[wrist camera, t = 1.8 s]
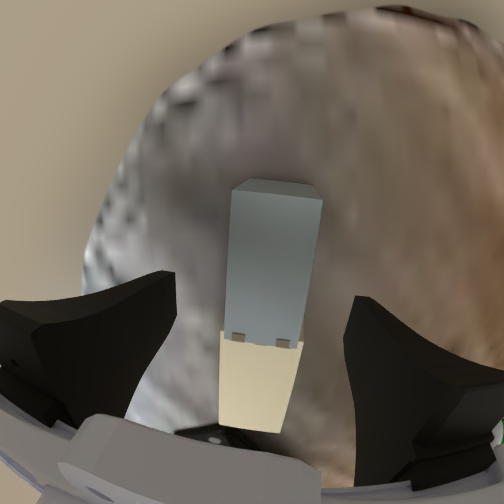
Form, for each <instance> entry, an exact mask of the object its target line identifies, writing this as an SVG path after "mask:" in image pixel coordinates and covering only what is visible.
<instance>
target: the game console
mask: <svg viewBox="0 0 504 504" xmlns="http://www.w3.org/2000/svg"><path fill="white" fill-rule="evenodd" d="M174 435H178V436H181V437H185V438H189V439H194V440H198V441H202V442H207V443H212V444H217V445H222V446H227V447H233V448H239V449H246V450H253V451H260V449H259V448H258V447H257V445H256V444H254V443H253V442H252V441H251V440H250V439H249V438H248V437H246V436H245V435H244V434H243V433H242V432H241V431H240V430H239V429H238V428H236V427H230V426H225V425H217V426H211V427H206V428H200V429H194V430H187V431H181V432H177V433H175V434H174Z"/></svg>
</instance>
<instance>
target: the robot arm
mask: <svg viewBox="0 0 504 504" xmlns="http://www.w3.org/2000/svg"><path fill="white" fill-rule="evenodd" d="M176 316H177V305H176V282H175V272H169V271H163V270H161V271H157V272H153V273H150V274H147V275H145V276H142V277H139V278H137V279H134V280H132V281H129V282H126V283H124V284H121V285H118V286H115V287H112V288H109V289H106V290H103V291H100V292H96V293H92V294H88V295H84V296H79V297H73V298H66V299H60V300H50V301H12V300H5V301H2V302H0V365H1V367H0V460H1V461H2V462H3V463H4V464H5V465H7V466H8V467H9V468H10V469H11V470H12V471H13V472H15V473H16V474H17V475H18V476H19V477H21V478H22V479H23V480H24V481H26V482H27V483H28V484H29V485H31V486H32V487H33V488H35V489H36V490H37V491H39V492H40V493H41V494H42V495H41V497H40V498H39V500H38V502H37V503H36V504H504V443H503V444H501V441H502V438H503V423H502V420H501V419H502V418H503V417H504V370H500V369H496V368H492V367H488V366H484V365H480V364H478V363H475V362H472V361H469V360H466V359H464V358H461V357H459V356H457V355H455V354H453V353H450V352H448V351H446V350H444V349H442V348H440V347H439V346H437V345H435V344H433V343H432V342H430V341H428V340H427V339H425V338H423V337H422V336H420V335H419V334H417V333H416V332H415V331H413V330H412V329H411V328H409V327H408V326H406V325H405V324H404V323H403V322H401V321H400V320H399V319H397V318H396V317H395V316H394V315H393V314H391V313H390V312H389V311H388V310H386V309H385V308H384V307H383V306H381V305H380V304H379V303H378V302H376V301H375V300H374V299H372V298H370V297H365V296H355V298H354V302H353V305H352V309H351V313H350V316H349V320H348V323H347V326H346V330H345V333H344V336H343V343H344V356H345V362H346V367H347V372H348V376H349V381H350V386H351V390H352V395H353V400H354V407H355V420H356V464H355V478H354V487H348V488H321V472H320V471H318V470H316V469H315V468H313V467H311V466H310V465H308V464H306V463H304V462H303V461H301V460H299V459H297V458H292V457H287V456H282V455H277V454H273V453H268V452H260V451H253V450H246V449H239V448H233V447H227V446H222V445H217V444H212V443H207V442H202V441H198V440H194V439H189V438H185V437H181V436H178V435H174V434H170V433H167V432H163V431H160V430H157V429H153V428H150V427H147V426H144V425H141V424H138V423H135V422H132V421H129V420H127V419H124V417H125V414H126V412H127V409H128V407H129V404H130V402H131V399H132V397H133V395H134V392H135V390H136V388H137V386H138V384H139V381H140V379H141V377H142V376H143V374H144V372H145V370H146V369H147V367H148V366H149V364H150V362H151V361H152V359H153V358H154V356H155V355H156V353H157V352H158V350H159V348H160V347H161V345H162V344H163V342H164V341H165V339H166V337H167V336H168V334H169V332H170V330H171V328H172V326H173V323H174V321H175V319H176ZM500 444H501V445H500Z"/></svg>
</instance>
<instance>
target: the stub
mask: <svg viewBox="0 0 504 504" xmlns="http://www.w3.org/2000/svg"><path fill="white" fill-rule="evenodd" d="M322 204H323V200H322V198H321V196H320V195H319V193H318V192H317V190H316V189H315V187H314V186H313V185H308V184H300V183H292V182H283V181H274V180H265V179H254V178H250V179H248V180H247V181H245V182H244V183H242V184H240V185H239V186H237V187H236V188H234V189H232V195H231V210H230V225H229V242H228V260H227V279H226V300H225V323H224V339H228V340H232V341H237V342H243V343H244V342H247V343H254V344H261V345H268V346H276V347H280V348H288V349H289V348H293V349H297V345H298V340H299V336H300V331H301V326H302V321H303V316H304V311H305V306H306V301H307V296H308V291H309V285H310V280H311V274H312V268H313V263H314V257H315V251H316V244H317V238H318V231H319V225H320V218H321V211H322Z"/></svg>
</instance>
